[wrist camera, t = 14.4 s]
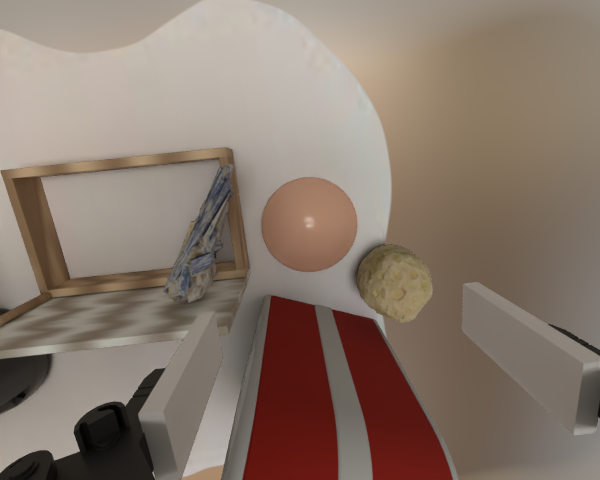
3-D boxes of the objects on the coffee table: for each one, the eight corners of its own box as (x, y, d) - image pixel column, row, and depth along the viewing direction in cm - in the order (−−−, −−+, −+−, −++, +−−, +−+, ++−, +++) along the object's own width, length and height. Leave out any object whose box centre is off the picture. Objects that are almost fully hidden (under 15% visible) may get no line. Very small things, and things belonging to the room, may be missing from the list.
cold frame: (67, 293, 42) (-61, 365, 27) (29, 170, 38) (-147, 172, 23) (250, 273, 43) (228, 334, 27) (232, 149, 39) (194, 137, 23)
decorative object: (373, 233, 45) (343, 251, 37) (445, 245, 40) (428, 269, 32) (368, 288, 48) (339, 316, 40) (435, 307, 43) (417, 343, 35)
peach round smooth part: (268, 275, 43) (268, 276, 42) (256, 182, 40) (255, 183, 39) (358, 265, 43) (359, 266, 42) (353, 172, 40) (354, 172, 39)
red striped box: (265, 292, 44) (229, 481, 17) (379, 319, 45) (504, 529, 19) (240, 387, 47) (179, 663, 21) (347, 409, 49) (414, 689, 23)
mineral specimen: (173, 291, 35) (206, 306, 35) (142, 298, 27) (186, 317, 27) (227, 181, 37) (258, 195, 37) (214, 155, 29) (254, 174, 29)
